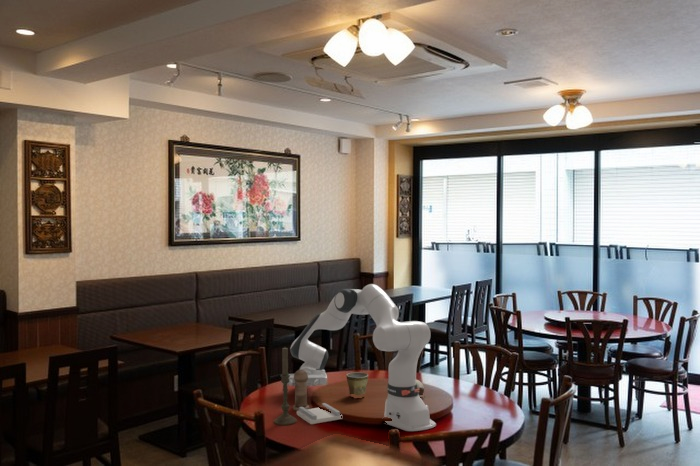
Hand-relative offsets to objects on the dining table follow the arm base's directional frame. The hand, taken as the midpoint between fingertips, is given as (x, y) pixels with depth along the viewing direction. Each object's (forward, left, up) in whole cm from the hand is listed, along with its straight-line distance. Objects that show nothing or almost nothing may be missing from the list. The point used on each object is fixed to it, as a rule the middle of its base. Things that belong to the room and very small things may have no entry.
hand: (303, 384), depth 267 cm
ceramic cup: (-2, -26, -9) cm, 28 cm away
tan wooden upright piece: (-7, +4, -8) cm, 12 cm away
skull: (-15, -49, -9) cm, 52 cm away
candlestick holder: (-20, +17, -9) cm, 27 cm away
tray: (-21, +2, -8) cm, 23 cm away
